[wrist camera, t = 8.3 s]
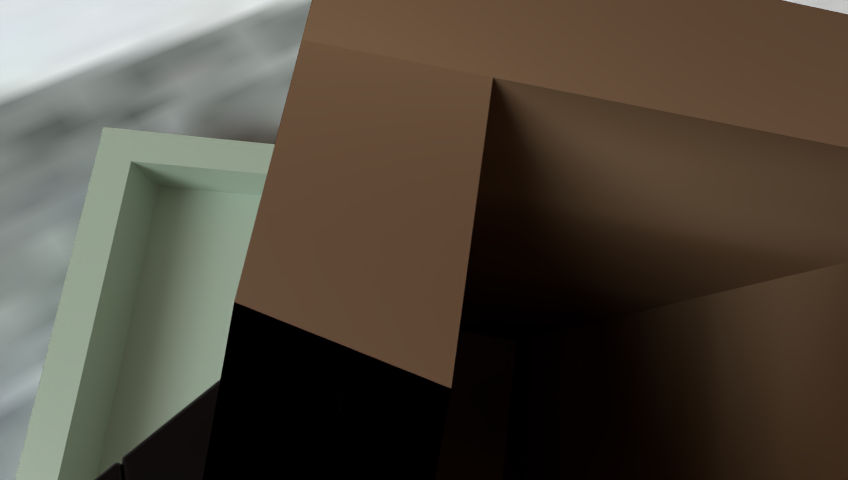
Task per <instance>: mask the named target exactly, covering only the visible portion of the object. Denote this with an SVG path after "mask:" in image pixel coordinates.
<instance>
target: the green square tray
mask: <svg viewBox="0 0 848 480" xmlns="http://www.w3.org/2000/svg"><path fill="white" fill-rule="evenodd" d="M274 145H275V144H266V143H256V142H246V141H236V140H226V139H216V138H206V137H196V136H186V135H176V134H166V133H156V132H146V131H136V130H126V129H116V128H106V127H103V131H102V135H101V139H100V143H99V147H98V151H97V155H96V159H95V163H94V167H93V171H92V175H91V179H90V183H89V187H88V191H87V195H86V199H85V203H84V207H83V211H82V215H81V219H80V223H79V227H78V231H77V235H76V239H75V243H74V247H73V251H72V255H71V259H70V263H69V267H68V271H67V275H66V279H65V283H64V287H63V291H62V295H61V299H60V303H59V307H58V311H57V315H56V319H55V323H54V327H53V331H52V335H51V339H50V343H49V347H48V351H47V355H46V359H45V363H44V367H43V371H42V375H41V379H40V383H39V387H38V390H37V394H36V398H35V402H34V406H33V410H32V414H31V418H30V422H29V426H28V430H27V434H26V438H25V442H24V446H23V450H22V454H21V458H20V462H19V466H18V470H17V474H16V478H15V480H94V479H95V478H97V477H98V476H99V475H100V474H102V473H103V472H104V471H105V470H107V469H108V468H109V467H110V466H112V465H113V464H114V463H116V462H118V463H121V465H122V462H121V460H122V457H123V456H125V455H126V454H127V453H128V452H130V451H131V450H132V449H133V448H135V447H136V446H137V445H138V444H140V443H141V442H142V441H143V440H145V439H146V438H147V437H148V436H150V435H151V434H152V433H153V432H155V431H156V430H157V429H158V428H160V427H161V426H162V425H163V424H165V423H166V422H167V421H168V420H170V419H171V418H172V417H173V416H175V415H176V414H177V413H178V412H180V411H181V410H182V409H183V408H185V407H186V406H187V405H188V404H190V403H191V402H192V401H193V400H195V399H196V398H197V397H198V396H200V395H201V394H202V393H203V392H205V391H206V390H207V389H208V388H210V387H211V386H212V385H214V384H215V383H216V382H217V381H219V380H220V378H221V373H222V367H223V362H224V356H225V350H226V345H227V339H228V333H229V328H230V322H231V317H232V311H233V305H234V300H235V296H236V293H237V289H238V285H239V281H240V277H241V273H242V269H243V265H244V262H245V258H246V254H247V250H248V246H249V242H250V238H251V235H252V231H253V227H254V223H255V219H256V215H257V211H258V207H259V204H260V200H261V196H262V192H263V188H264V184H265V180H266V176H267V173H268V169H269V165H270V161H271V157H272V153H273V149H274Z"/></svg>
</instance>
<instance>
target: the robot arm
mask: <svg viewBox="0 0 848 480" xmlns="http://www.w3.org/2000/svg"><path fill="white" fill-rule="evenodd" d="M336 349H337V343H336V342H333V341H331V340H330V341H329V344H328V347H327V350H326V353H325V356H324V359H323V362H322V366H321V371H320V380H319V389H318V398H317V407H316V416H315V425H314V434H313V443H312V452H311V459H312V455H313V451H314V447H315V444H316V439H317V435H318V431H319V426H320V422H321V418H322V413H323V409H324V405H325V400H326V396H327V392H328V387H329V383H330V379H331V374H332V370H333V366H334V361H335V355H336ZM219 384H220V380H219V381H217V382H216V383H215V384H214V385H212V386H211V387H210V388H208V389H207V390H206V391H205V392H203V393H202V394H201V395H200V396H198V397H197V398H196V399H195V400H193V401H192V402H191V403H190V404H188V405H187V406H186V407H185V408H183V409H182V410H181V411H180V412H178V413H177V414H176V415H175V416H173V417H172V418H171V419H170V420H168V421H167V422H166V423H165V424H163V425H162V426H161V427H160V428H158V429H157V430H156V431H155V432H153V433H152V434H151V435H150V436H148V437H147V438H146V439H145V440H143V441H142V442H141V443H140V444H138V445H137V446H136V447H135V448H133V449H132V450H131V451H130V452H128V453H127V454H126V455H125V456H123V457H122V460H121V462H122V465H121V463H118V462H116V463H114V464H113V465H112V466H110V467H109V468H108V469H107V470H105V471H104V472H103V473H102V474H100V475H99V476H98V477H97V478H95V479H94V480H203V474H204V468H205V463H206V457H207V452H208V446H209V440H210V435H211V429H212V423H213V418H214V412H215V407H216V401H217V395H218V390H219ZM310 462H311V461H310Z"/></svg>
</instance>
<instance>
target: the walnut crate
mask: <svg viewBox="0 0 848 480" xmlns="http://www.w3.org/2000/svg"><path fill="white" fill-rule="evenodd" d="M330 340H331V341H333V342H336V343H337V349H336V355H335V361H334V366H333V370H332V374H331V379H330V383H329V387H328V392H327V396H326V400H325V405H324V409H323V413H322V418H321V422H320V426H319V431H318V435H317V439H316V444H315V447H314V451H313V455H312V459H311V452H312V443H313V434H314V425H315V416H316V407H317V398H318V389H319V380H320V371H321V366H322V362H323V359H324V356H325V353H326V350H327V347H328V344H329V341H330ZM310 461H311V462H310ZM203 480H848V15H847V14H843V13H838V12H833V11H829V10H824V9H819V8H815V7H810V6H806V5H801V4H796V3H792V2H787V1H782V0H312V2H311V6H310V10H309V14H308V18H307V22H306V25H305V29H304V33H303V37H302V41H301V45H300V49H299V53H298V56H297V60H296V64H295V68H294V72H293V76H292V80H291V83H290V87H289V91H288V95H287V99H286V103H285V107H284V111H283V114H282V118H281V122H280V126H279V130H278V134H277V138H276V142H275V145H274V149H273V153H272V157H271V161H270V165H269V169H268V173H267V176H266V180H265V184H264V188H263V192H262V196H261V200H260V204H259V207H258V211H257V215H256V219H255V223H254V227H253V231H252V235H251V238H250V242H249V246H248V250H247V254H246V258H245V262H244V265H243V269H242V273H241V277H240V281H239V285H238V289H237V293H236V296H235V300H234V305H233V311H232V317H231V322H230V328H229V333H228V339H227V345H226V350H225V356H224V362H223V367H222V373H221V378H220V384H219V390H218V395H217V401H216V407H215V412H214V418H213V423H212V429H211V435H210V440H209V446H208V452H207V457H206V463H205V468H204V474H203Z"/></svg>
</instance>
